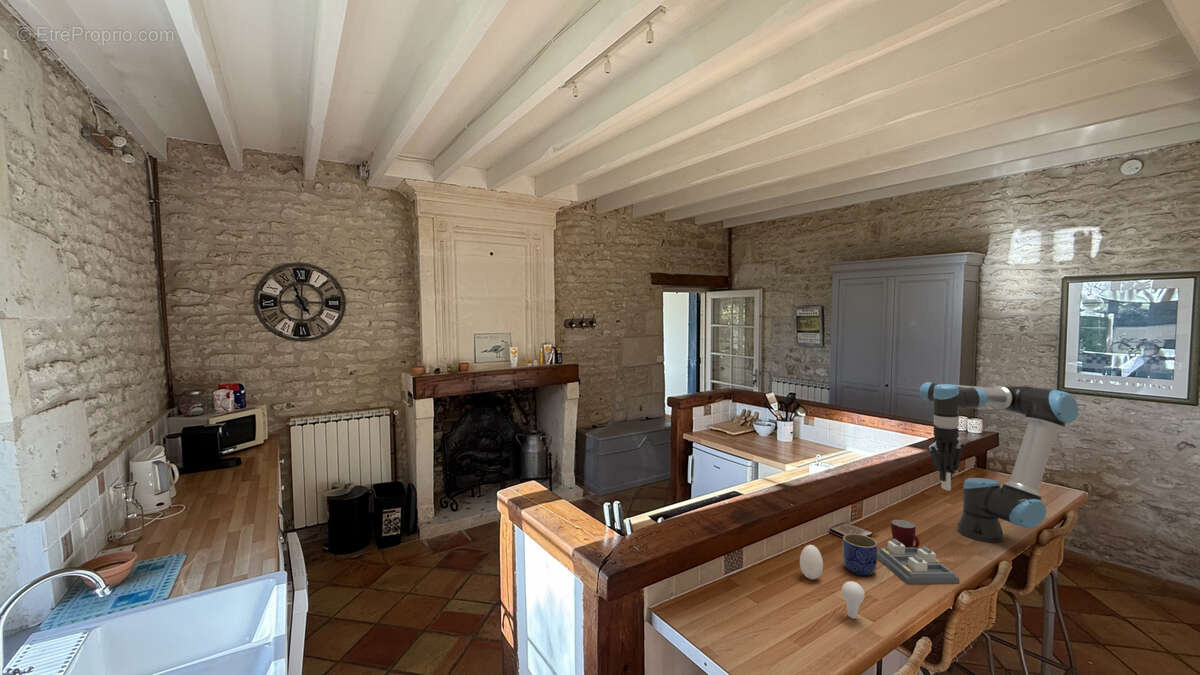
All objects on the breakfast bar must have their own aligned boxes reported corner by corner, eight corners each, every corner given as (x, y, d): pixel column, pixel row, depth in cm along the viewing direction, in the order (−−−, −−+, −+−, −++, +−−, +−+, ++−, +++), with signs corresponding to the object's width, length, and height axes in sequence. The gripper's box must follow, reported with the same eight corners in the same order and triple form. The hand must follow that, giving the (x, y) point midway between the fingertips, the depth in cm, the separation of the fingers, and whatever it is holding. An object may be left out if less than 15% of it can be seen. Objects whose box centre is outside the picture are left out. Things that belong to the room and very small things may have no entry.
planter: (873, 565, 177) (874, 535, 176) (879, 581, 167) (880, 549, 166) (840, 560, 181) (840, 531, 180) (844, 575, 170) (845, 544, 170)
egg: (797, 580, 168) (797, 546, 167) (802, 570, 174) (802, 538, 173) (820, 586, 163) (821, 552, 163) (824, 576, 170) (825, 544, 169)
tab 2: (927, 560, 176) (928, 545, 176) (935, 566, 172) (936, 551, 172) (917, 560, 176) (917, 546, 176) (924, 566, 172) (924, 551, 172)
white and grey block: (919, 569, 170) (919, 554, 170) (927, 575, 166) (927, 560, 166) (908, 569, 170) (908, 554, 170) (915, 575, 166) (915, 560, 166)
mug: (926, 554, 185) (926, 528, 185) (913, 558, 181) (913, 532, 181) (899, 543, 194) (899, 518, 194) (886, 547, 191) (886, 521, 191)
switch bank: (922, 556, 184) (922, 546, 183) (959, 583, 165) (959, 572, 165) (875, 556, 183) (875, 547, 183) (906, 583, 165) (906, 573, 165)
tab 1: (898, 552, 182) (898, 538, 182) (904, 558, 178) (905, 543, 178) (887, 552, 182) (887, 538, 182) (893, 558, 178) (894, 543, 178)
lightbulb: (837, 612, 149) (837, 577, 149) (856, 611, 150) (856, 576, 149) (848, 625, 143) (849, 588, 143) (868, 624, 144) (869, 587, 143)
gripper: (955, 423, 183) (955, 484, 184) (921, 425, 182) (921, 486, 184) (971, 428, 175) (971, 491, 177) (936, 429, 175) (936, 493, 176)
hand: (946, 489), depth 180 cm, fingers closed
